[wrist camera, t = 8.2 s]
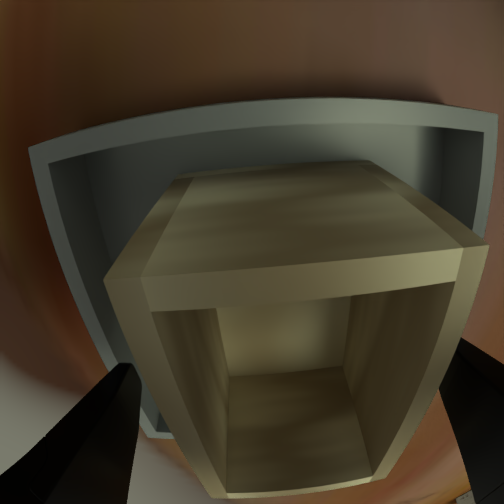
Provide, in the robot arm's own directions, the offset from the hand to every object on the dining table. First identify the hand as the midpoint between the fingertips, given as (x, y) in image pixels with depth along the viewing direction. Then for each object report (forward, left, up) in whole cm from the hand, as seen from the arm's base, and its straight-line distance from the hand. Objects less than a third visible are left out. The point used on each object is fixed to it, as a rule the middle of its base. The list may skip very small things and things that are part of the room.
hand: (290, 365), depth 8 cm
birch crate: (0, 0, -4) cm, 4 cm away
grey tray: (0, 0, -4) cm, 4 cm away
